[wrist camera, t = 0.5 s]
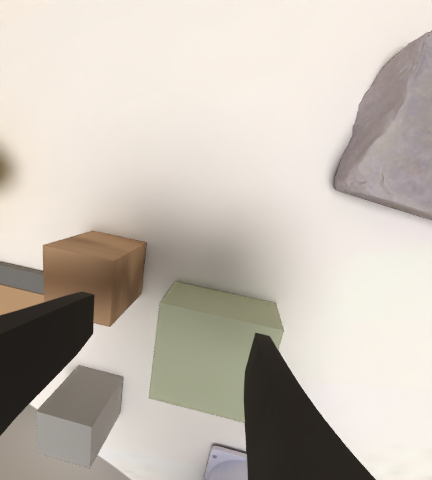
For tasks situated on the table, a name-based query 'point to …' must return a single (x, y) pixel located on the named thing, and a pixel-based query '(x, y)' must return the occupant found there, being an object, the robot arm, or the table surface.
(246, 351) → the sage block
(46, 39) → the table surface
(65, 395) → the light gray cube
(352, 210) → the table surface
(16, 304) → the card
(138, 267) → the walnut block
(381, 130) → the stone block
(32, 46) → the table surface
